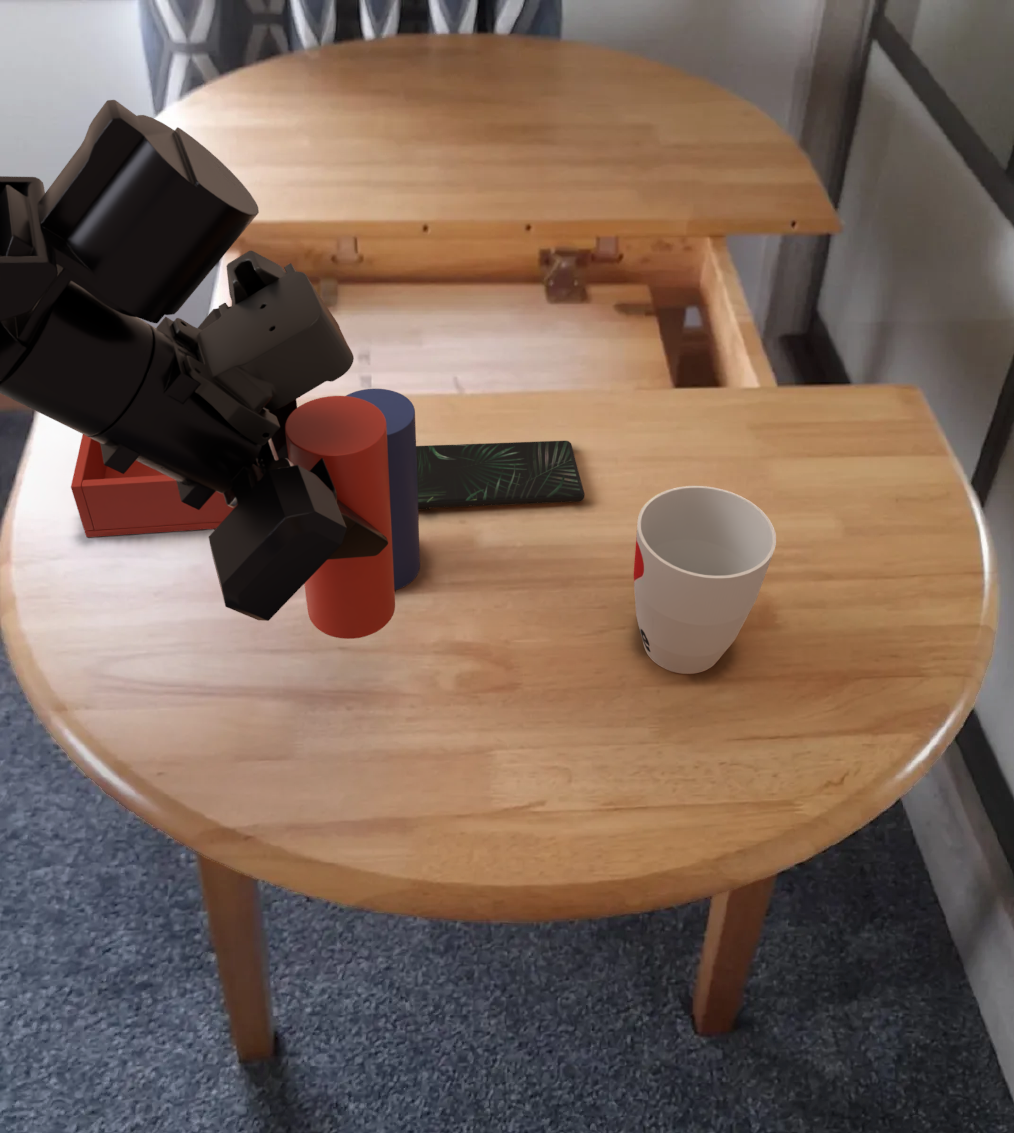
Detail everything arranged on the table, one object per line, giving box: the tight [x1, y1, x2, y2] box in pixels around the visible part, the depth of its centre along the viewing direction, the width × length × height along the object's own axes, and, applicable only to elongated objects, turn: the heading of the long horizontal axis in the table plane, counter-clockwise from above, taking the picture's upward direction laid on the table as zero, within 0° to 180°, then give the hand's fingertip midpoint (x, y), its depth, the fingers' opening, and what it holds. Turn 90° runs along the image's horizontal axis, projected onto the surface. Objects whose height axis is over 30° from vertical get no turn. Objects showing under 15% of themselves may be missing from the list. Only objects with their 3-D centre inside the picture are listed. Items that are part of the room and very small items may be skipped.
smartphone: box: [416, 440, 585, 511], centre depth 83 cm, size 7×1×15 cm
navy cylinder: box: [345, 388, 421, 591], centre depth 72 cm, size 5×5×13 cm
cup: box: [633, 485, 777, 675], centre depth 69 cm, size 8×8×10 cm
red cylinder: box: [285, 395, 396, 640], centre depth 60 cm, size 5×5×13 cm
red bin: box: [70, 434, 238, 538], centre depth 81 cm, size 11×11×5 cm
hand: (369, 516), depth 60 cm, fingers closed on red cylinder, 5 cm apart
